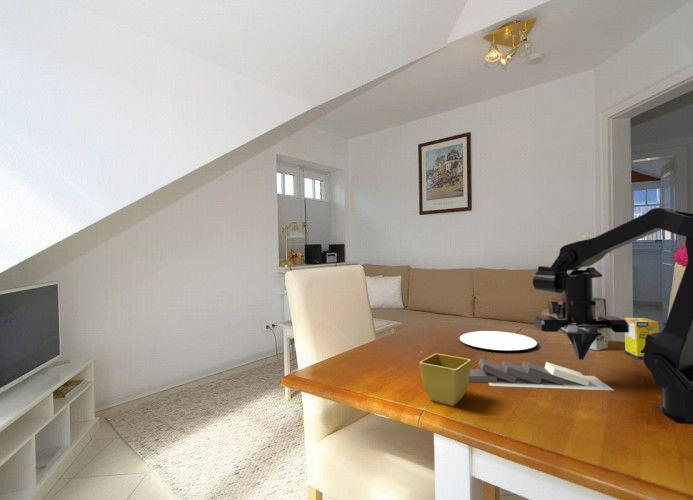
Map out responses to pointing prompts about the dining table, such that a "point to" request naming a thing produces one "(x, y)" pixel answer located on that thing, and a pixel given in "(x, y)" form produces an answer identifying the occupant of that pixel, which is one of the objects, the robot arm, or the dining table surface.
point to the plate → (498, 341)
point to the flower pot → (445, 377)
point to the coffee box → (600, 340)
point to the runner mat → (554, 384)
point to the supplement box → (638, 335)
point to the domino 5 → (567, 374)
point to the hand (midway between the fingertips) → (580, 359)
